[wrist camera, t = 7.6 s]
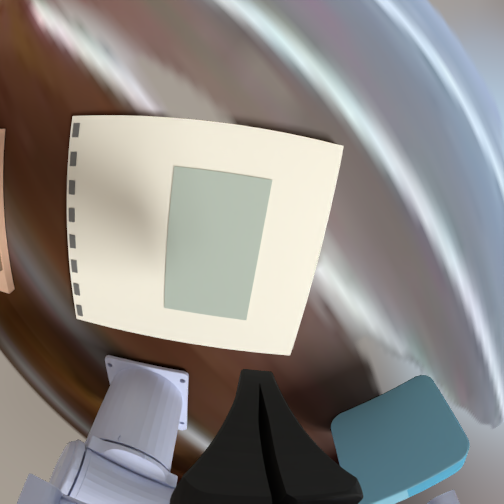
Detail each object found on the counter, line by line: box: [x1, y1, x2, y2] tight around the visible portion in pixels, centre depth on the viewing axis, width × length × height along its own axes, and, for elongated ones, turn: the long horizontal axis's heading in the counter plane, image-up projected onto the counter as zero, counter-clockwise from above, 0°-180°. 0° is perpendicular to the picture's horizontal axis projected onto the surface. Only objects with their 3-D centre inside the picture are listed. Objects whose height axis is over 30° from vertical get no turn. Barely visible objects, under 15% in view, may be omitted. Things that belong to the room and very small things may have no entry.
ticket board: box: [67, 115, 344, 355], centre depth 19 cm, size 16×18×1 cm
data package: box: [331, 375, 469, 504], centre depth 21 cm, size 12×4×12 cm, turn 118°
